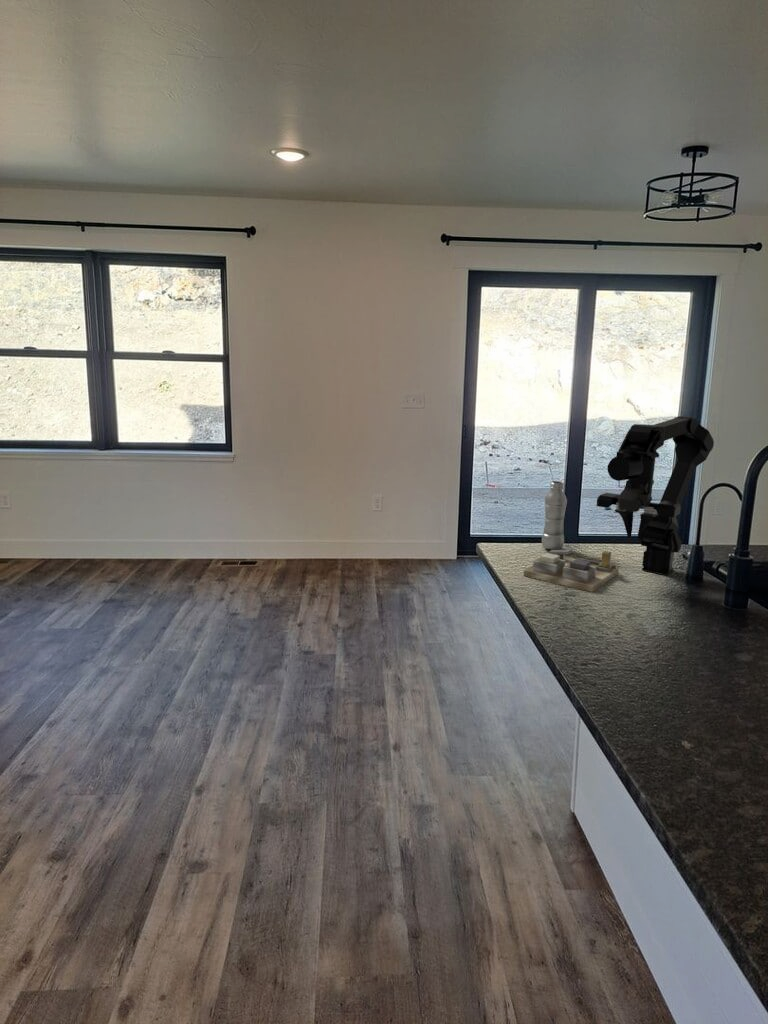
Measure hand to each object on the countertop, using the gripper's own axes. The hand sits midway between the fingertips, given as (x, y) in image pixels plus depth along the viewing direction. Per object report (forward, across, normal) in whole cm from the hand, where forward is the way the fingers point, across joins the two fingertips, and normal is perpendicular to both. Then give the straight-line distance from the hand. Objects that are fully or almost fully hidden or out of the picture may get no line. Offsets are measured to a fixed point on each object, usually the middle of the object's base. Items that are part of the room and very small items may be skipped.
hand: (634, 538), depth 160 cm
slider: (+9, -6, 0) cm, 11 cm away
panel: (+11, -13, -6) cm, 18 cm away
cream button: (+7, -17, -11) cm, 22 cm away
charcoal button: (+8, -9, -11) cm, 16 cm away
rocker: (+7, -19, 0) cm, 20 cm away
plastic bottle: (+11, -27, +13) cm, 32 cm away
